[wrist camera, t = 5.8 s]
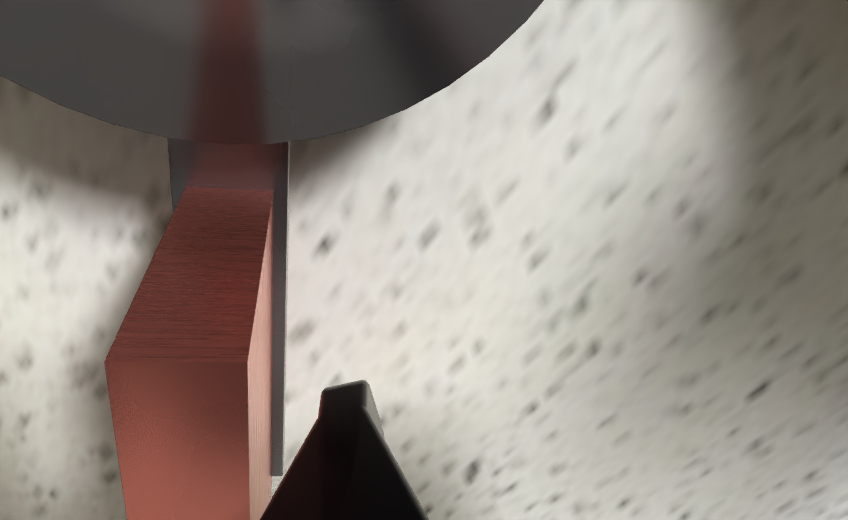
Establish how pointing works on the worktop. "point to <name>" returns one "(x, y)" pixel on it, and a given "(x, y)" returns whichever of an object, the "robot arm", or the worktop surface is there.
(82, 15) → the handwheel
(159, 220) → the worktop surface
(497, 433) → the worktop surface
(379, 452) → the robot arm
